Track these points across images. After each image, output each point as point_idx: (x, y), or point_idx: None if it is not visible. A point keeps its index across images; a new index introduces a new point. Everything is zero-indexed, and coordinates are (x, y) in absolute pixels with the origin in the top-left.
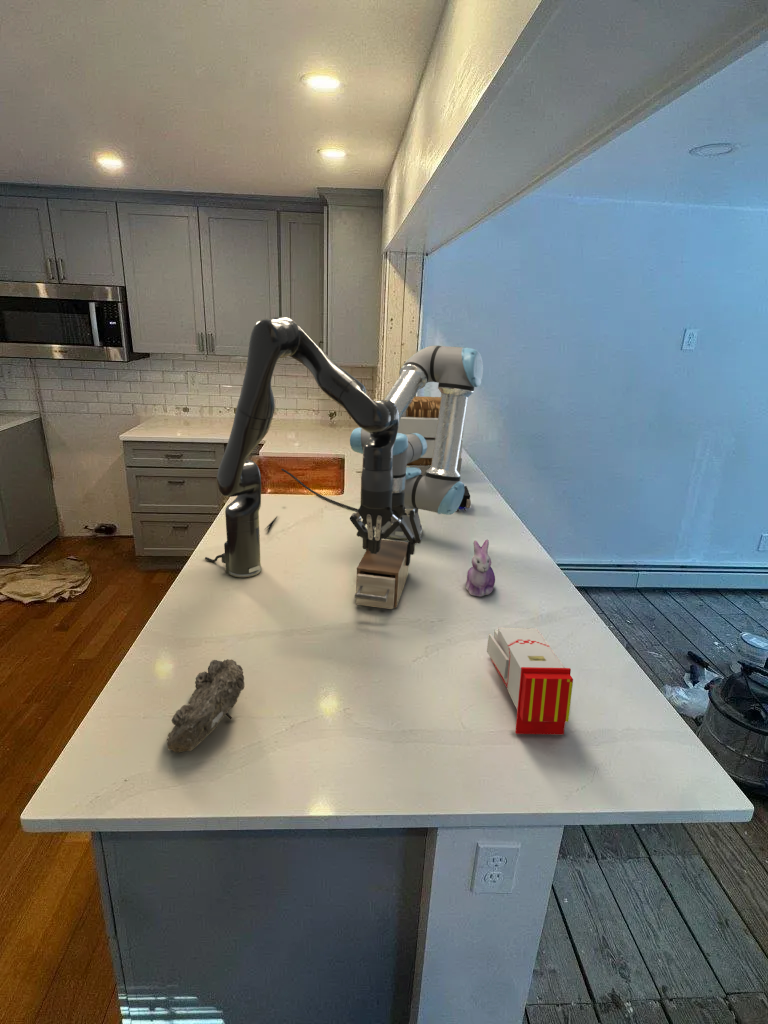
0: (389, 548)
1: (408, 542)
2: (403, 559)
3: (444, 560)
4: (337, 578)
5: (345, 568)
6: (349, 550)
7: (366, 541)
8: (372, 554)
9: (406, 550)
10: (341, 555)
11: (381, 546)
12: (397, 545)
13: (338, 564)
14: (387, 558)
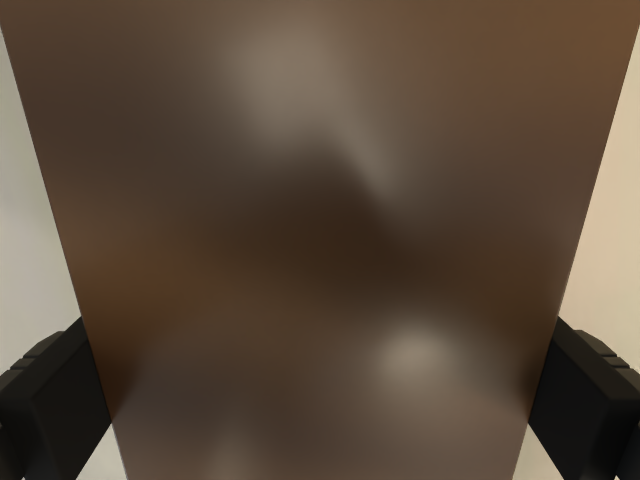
0: (300, 345)
1: (51, 463)
2: (10, 55)
3: (100, 477)
4: (611, 170)
5: (563, 299)
6: (546, 468)
7: (629, 382)
8: (499, 105)
9: (95, 345)
10: None
11: (400, 370)
12: (233, 431)
13: (602, 331)
14: (253, 20)
